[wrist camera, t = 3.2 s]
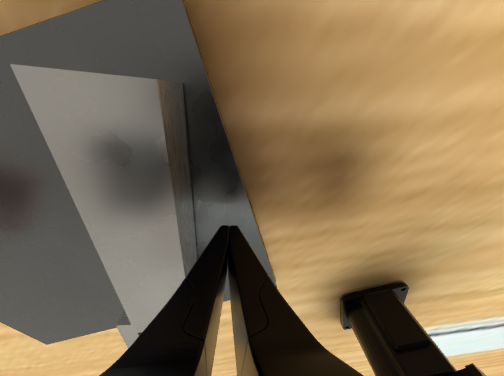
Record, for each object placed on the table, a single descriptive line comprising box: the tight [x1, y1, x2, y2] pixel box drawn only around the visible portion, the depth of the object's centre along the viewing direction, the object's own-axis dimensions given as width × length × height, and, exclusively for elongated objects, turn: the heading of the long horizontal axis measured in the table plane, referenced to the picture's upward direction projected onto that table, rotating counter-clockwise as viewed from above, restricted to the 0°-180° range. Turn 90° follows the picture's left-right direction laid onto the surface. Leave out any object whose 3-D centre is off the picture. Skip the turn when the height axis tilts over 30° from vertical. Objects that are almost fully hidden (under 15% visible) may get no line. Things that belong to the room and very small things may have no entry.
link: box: [10, 64, 197, 348], centre depth 10 cm, size 18×5×3 cm, turn 174°
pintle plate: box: [0, 0, 277, 344], centre depth 10 cm, size 19×22×5 cm
